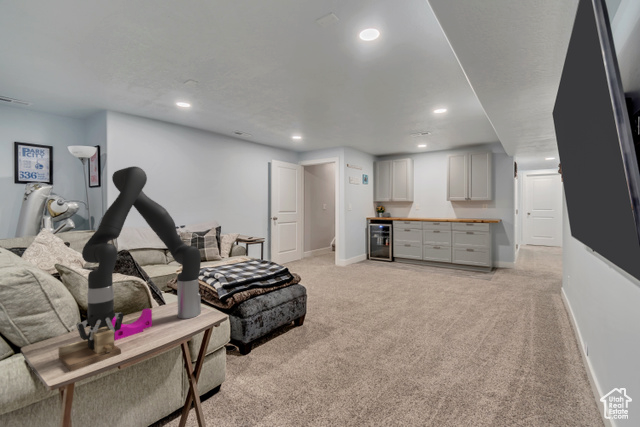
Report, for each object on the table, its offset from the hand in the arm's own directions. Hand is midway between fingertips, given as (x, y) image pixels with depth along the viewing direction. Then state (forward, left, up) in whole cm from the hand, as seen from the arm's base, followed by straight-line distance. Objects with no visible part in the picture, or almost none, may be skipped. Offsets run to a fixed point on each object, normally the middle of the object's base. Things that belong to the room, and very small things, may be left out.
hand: (101, 346), depth 106 cm
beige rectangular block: (0, 0, -1) cm, 1 cm away
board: (+3, +1, -2) cm, 4 cm away
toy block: (-14, -10, -3) cm, 17 cm away
